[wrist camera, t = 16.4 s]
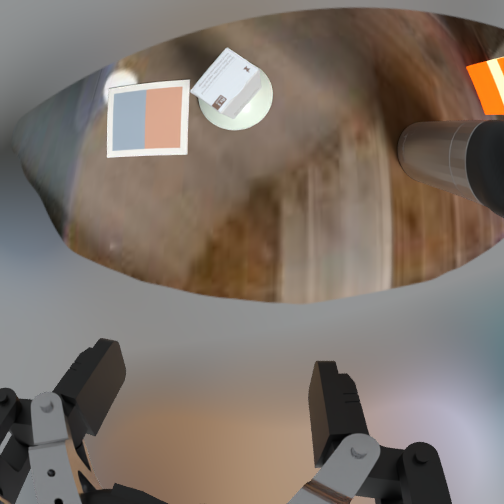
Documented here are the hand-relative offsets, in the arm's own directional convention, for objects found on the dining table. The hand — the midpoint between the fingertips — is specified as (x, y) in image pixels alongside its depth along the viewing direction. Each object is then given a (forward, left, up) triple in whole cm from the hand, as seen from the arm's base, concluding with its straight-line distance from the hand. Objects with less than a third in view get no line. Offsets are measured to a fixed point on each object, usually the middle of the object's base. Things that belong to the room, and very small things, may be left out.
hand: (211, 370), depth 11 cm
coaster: (+3, -15, -33) cm, 36 cm away
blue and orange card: (+16, -12, -33) cm, 39 cm away
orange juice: (-39, -25, -33) cm, 57 cm away
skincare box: (+3, -15, -32) cm, 36 cm away
